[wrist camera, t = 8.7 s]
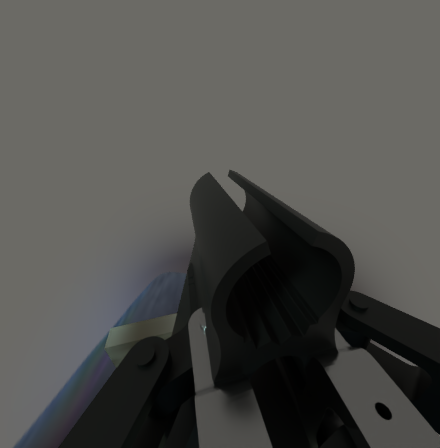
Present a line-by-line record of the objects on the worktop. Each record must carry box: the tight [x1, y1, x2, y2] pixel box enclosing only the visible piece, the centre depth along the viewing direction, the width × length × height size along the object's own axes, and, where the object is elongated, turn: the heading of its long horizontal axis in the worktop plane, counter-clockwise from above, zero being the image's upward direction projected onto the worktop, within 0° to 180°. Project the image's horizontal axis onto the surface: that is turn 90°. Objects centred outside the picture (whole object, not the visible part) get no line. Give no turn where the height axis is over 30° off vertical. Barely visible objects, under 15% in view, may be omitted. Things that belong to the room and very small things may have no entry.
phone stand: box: [164, 170, 355, 448], centre depth 8 cm, size 9×6×12 cm, turn 102°
